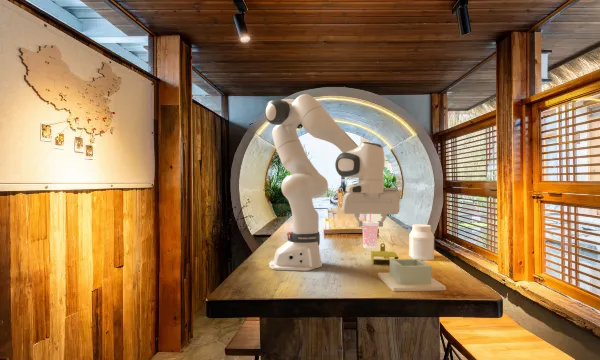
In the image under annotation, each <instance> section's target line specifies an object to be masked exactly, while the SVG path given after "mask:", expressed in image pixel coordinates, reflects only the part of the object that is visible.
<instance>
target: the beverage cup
mask: <svg viewBox="0 0 600 360" xmlns="http://www.w3.org/2000/svg"><path fill="white" fill-rule="evenodd" d="M362 222H363V224H362V226H361V227H362V245H363V246H362V247H363V248H364V249H369V250H372V249H373V250H374V249H376V248H377V243H378V242H377V241H378V232H379V231H378V229H379V226H378V225H379V222H378V221H372V214H369V220H365V221H364V220H363V221H362Z"/></svg>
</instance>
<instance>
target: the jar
mask: <svg viewBox="0 0 600 360" xmlns="http://www.w3.org/2000/svg"><path fill="white" fill-rule="evenodd" d="M411 228H412V230H411V231H410V232H409V235H408V237H409V238H408V239H409V240H408V250H409V251H408V256H409V257H411V259H420V260H421V261H433V260H434V259H435V235H434V233H433V232H432V225H431V224H423V223H416V224H415V223H413V224H412V227H411Z"/></svg>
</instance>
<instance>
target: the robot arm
mask: <svg viewBox="0 0 600 360" xmlns="http://www.w3.org/2000/svg"><path fill="white" fill-rule="evenodd" d="M264 114H265V115H264V116H265V119H266V120H267V122H268V123H269V124H272V125H274V127H273V129H272V130H271V131H272V132H271V135H272V136H271V137H272V141H273V144H274V147H275V150H276V153H277V155H278V157H279V159H280V162H281V164H282V166H283V168H284V169H285V170H286V171H287V172H289V175H287V176H286V177H284V178H283V180H282V181H281V185H280V188H281V189H280V190H281V193H282V195H283V197H285V198H286V199H287V201H288V203H289V205H290V210H291V215H292V219H291V220H292V231H287V232H286V236H287V241H286V242H285V243H283V244H282V245H280V246H279V247H278V248H277V249H276V250H275V252H274V259H272V260H270V261H269V263H268V266H269V268H270V269H272V270H273V271H274V270H276V271H277V270H278V271H300V272H301V271H304V272H305V271H307V272H309V271H311V270H314V269H317V268H321V267H322V266H323V263H322V258H321V254H320V243H321V234H320V231H319V229H320V227H319V226H320V225H319V213H318V211H317V210H316V209H315V207H314V203H313V200H314V199H317V198H320V197H322V196H323V195H326V193H327V191H328V189H329V183H328V180H327V178H326V177H325V176H323V175H322V174H321V173H320V172H319V171H318V170H317V168H316V167H315V166H314V164H313V163H312V162H311V160H310V159H309V157H308V155H307V152H306V151H305V149H304V147H303V145H302V143H301V141H300V138H299V136H298V134H297V133H298V132H297V131H298V130H297V129H302V128H303V129H304V130H306V132H307V133H308V134H309V135H310V136H312V137H313V138H316V139H318V140H322V141H324V142H327V143H330V144H332V145H334V146H335V147H337V148H338V150H339V151H340V152H341V153H340V154H339V155H338V156H337V157H336V160H335V162H334V163H335V164H334V166H335V167H334V168H335V170H336V173H337V174H338V175H339V176H341V177H343V178H346V179H347V178H350V179H356V178H357V179H358V182H356V183H354V184H349V185H346V186H345V191H346V193H344V195H343V197H342V204H341V211H342V212H343V213H344V214H348V215H349V214H350V215H353V214H354V218H355V220H356V223H357V227H362V224H363V221H362V220H360V219H359V218H360V216H361V215H370V214H371V215H380V217H381V219H380V220H377V222H379V225H378V228H380V227H384V222H385V221H386V219H387V215H398V214H399V212H400V202H399V199H400V191H399V190H398V189H397V188H396V187H392V188H390V187H385V177H384V169H385V152H384V147H383V146H382V145H381V144H379V143H375V142H369V141H364V142H363V141H362V142H361V143H360V144H359V145H358V144H357V143H356V141H354V140H353V139H352V138H351V137H350V136H349V134H348V133H346V132H345V130H344V129H342V127H340V125H339V124H338V123H337V122H336V121H335V120H334V119H333V117H332V116H331V115H330V114H329V113H328V111H327V110H326V109H325V108H324V106H323V105H322V104H321V103H320V102H319V101H318V100H317V99H316V98H315V97H313V96H312V95H310V94H309V93H308V94H307V93H303V94H300V95H298V96H297V97H296V98H295V99H294V98H284V99H280V98H279V99H278V98H277V99H272V100H269V101H268V102H267V103H266V106H265V109H264Z"/></svg>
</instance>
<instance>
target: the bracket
mask: <svg viewBox="0 0 600 360" xmlns="http://www.w3.org/2000/svg"><path fill="white" fill-rule="evenodd" d="M379 246H380V250H378V251H377V250H371V252H370V256H371V257H370V259H371V262H372V264H373V265H374V263H375V262H374V261H375V259H374V257H376V258H380V257H381V258H383V259H385V260H390V259H391V258H393V259H399V256H398V254H397V253H396V252H395V251H386V244H385V243H383V242H382V243H380V245H379Z"/></svg>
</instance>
